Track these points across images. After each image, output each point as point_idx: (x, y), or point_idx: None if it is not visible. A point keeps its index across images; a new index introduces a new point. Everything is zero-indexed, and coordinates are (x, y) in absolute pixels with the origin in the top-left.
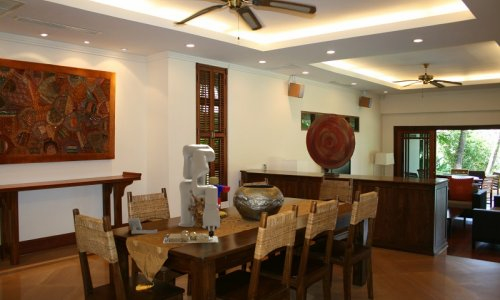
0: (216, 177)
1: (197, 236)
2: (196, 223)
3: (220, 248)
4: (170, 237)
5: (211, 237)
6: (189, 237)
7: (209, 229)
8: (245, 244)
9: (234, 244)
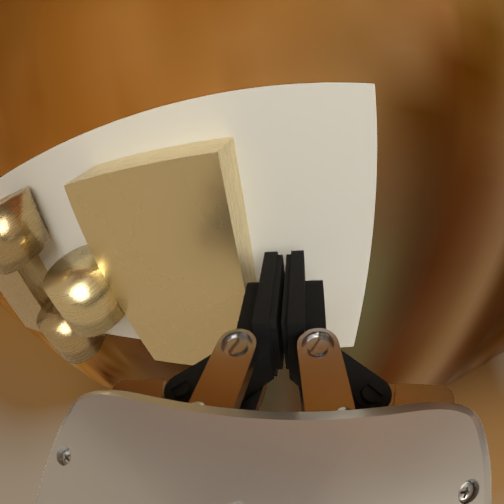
0: None
1: (135, 324)
2: None
3: None
4: (16, 310)
5: (286, 164)
6: (46, 185)
7: (249, 397)
8: (490, 353)
9: (442, 362)
